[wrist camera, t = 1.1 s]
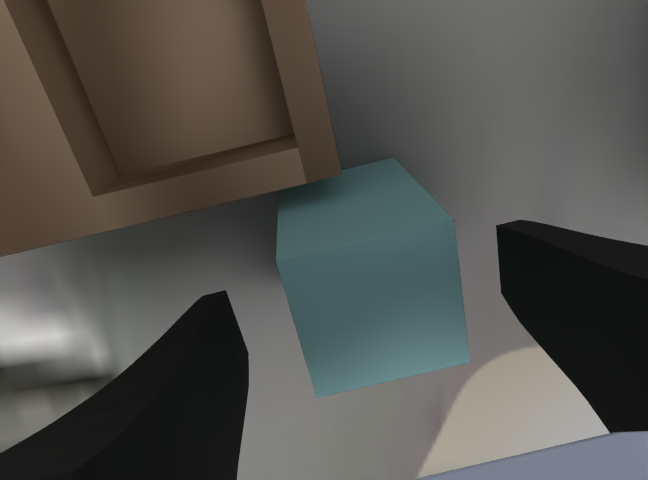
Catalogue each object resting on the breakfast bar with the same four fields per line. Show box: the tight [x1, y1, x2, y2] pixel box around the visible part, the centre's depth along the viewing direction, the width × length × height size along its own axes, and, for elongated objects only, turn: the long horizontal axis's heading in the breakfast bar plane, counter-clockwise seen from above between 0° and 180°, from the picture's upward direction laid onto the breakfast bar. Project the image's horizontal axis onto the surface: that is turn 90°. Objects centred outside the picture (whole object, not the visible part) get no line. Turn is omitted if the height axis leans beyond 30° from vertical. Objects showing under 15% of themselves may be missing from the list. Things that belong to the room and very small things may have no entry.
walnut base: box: [0, 0, 342, 257], centre depth 12 cm, size 11×8×3 cm
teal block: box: [276, 157, 470, 398], centre depth 13 cm, size 4×4×6 cm
